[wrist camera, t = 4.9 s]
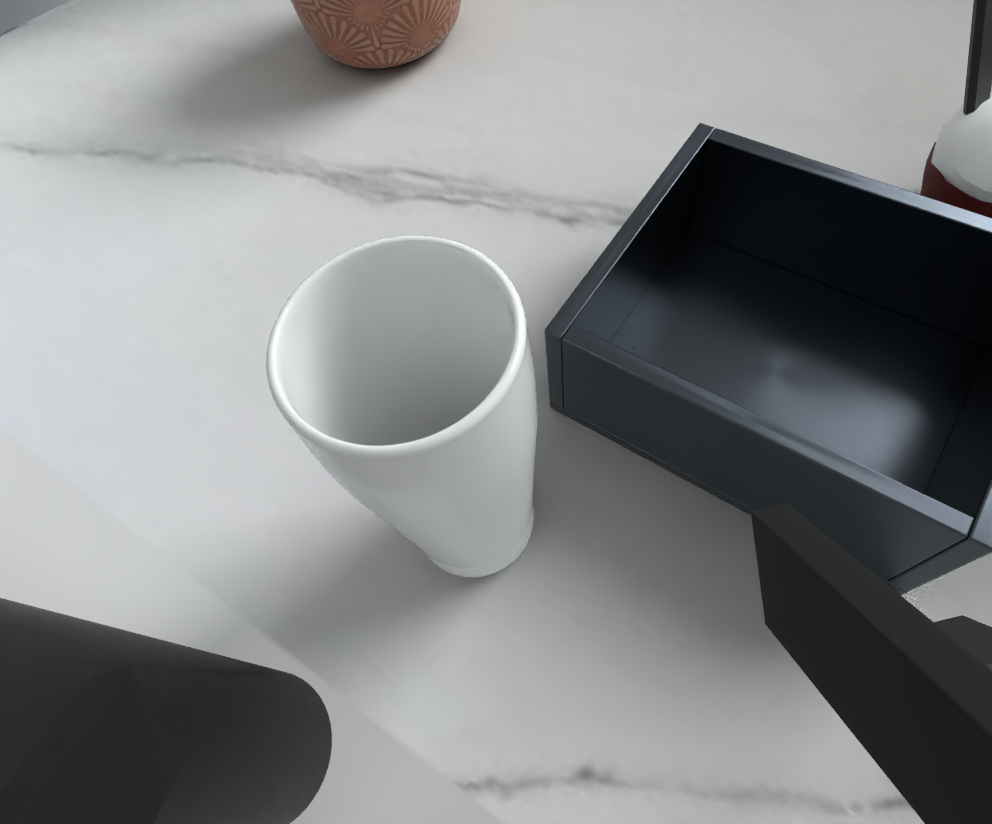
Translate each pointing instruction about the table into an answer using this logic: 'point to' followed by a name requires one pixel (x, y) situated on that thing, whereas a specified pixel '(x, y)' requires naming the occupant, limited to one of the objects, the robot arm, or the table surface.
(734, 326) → the dark storage bin
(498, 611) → the table surface
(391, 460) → the white cup
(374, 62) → the planter
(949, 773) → the robot arm
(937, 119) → the table surface
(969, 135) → the cocoa
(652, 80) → the table surface
